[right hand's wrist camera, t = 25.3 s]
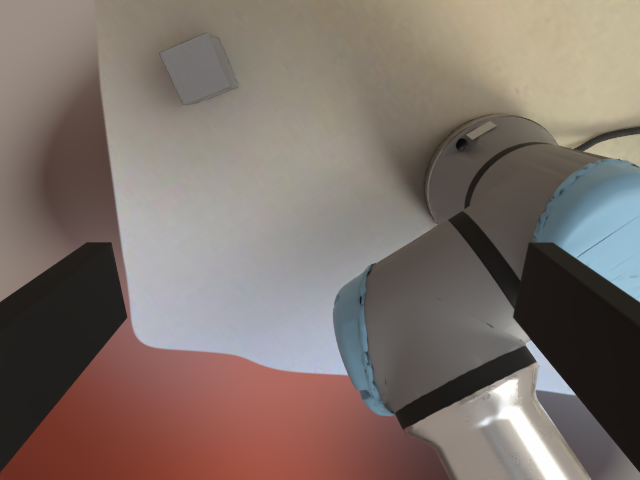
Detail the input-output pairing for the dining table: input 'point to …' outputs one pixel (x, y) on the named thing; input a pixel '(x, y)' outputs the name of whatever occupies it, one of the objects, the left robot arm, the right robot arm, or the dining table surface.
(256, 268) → the dining table surface
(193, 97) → the grey block
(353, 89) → the dining table surface
